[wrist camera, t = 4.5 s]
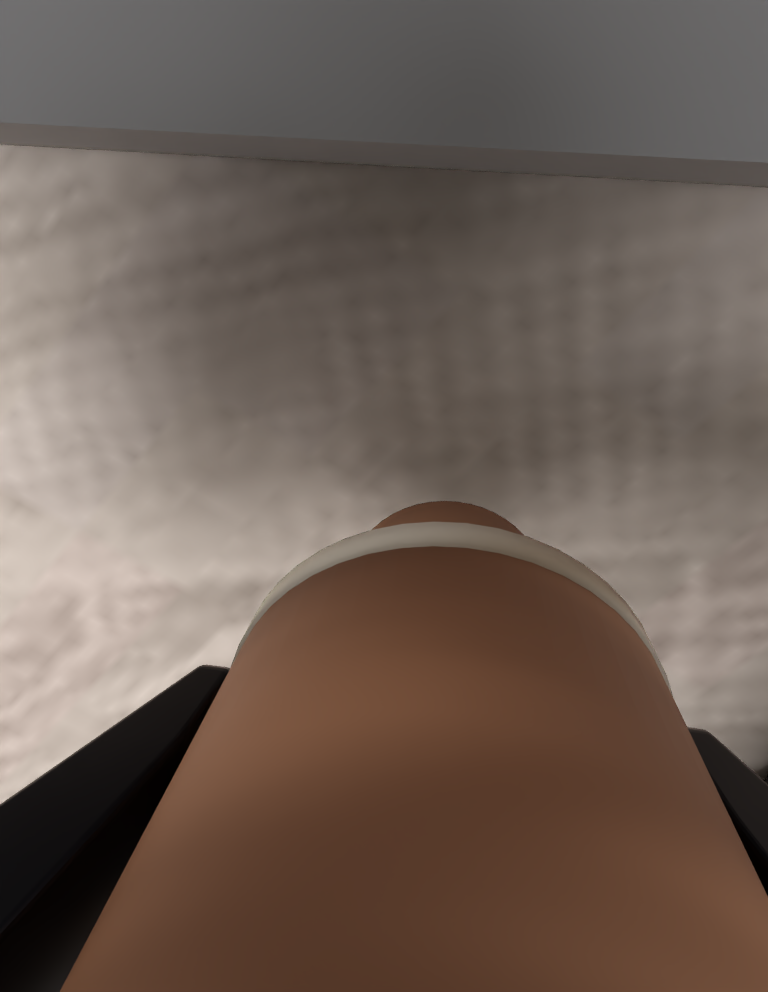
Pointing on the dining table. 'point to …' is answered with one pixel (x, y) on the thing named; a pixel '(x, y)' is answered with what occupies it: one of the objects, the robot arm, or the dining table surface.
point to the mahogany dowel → (437, 793)
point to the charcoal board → (400, 83)
